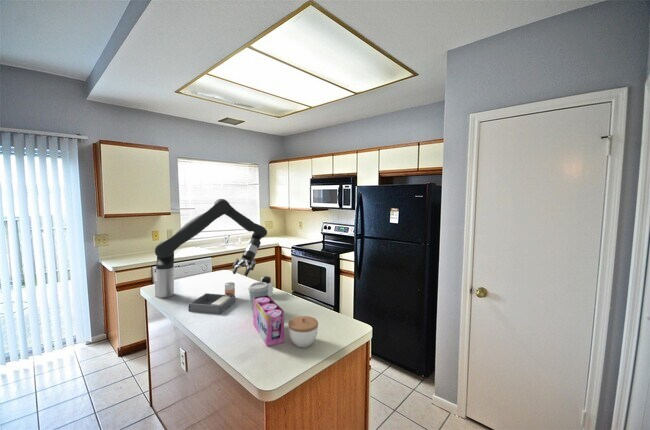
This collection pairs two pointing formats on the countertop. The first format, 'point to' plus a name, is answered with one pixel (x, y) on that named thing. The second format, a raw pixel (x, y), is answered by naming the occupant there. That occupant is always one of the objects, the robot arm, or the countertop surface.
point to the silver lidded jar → (230, 288)
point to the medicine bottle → (268, 281)
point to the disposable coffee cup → (258, 290)
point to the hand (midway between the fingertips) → (239, 274)
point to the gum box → (268, 320)
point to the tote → (205, 303)
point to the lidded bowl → (303, 330)
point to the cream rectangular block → (221, 300)
